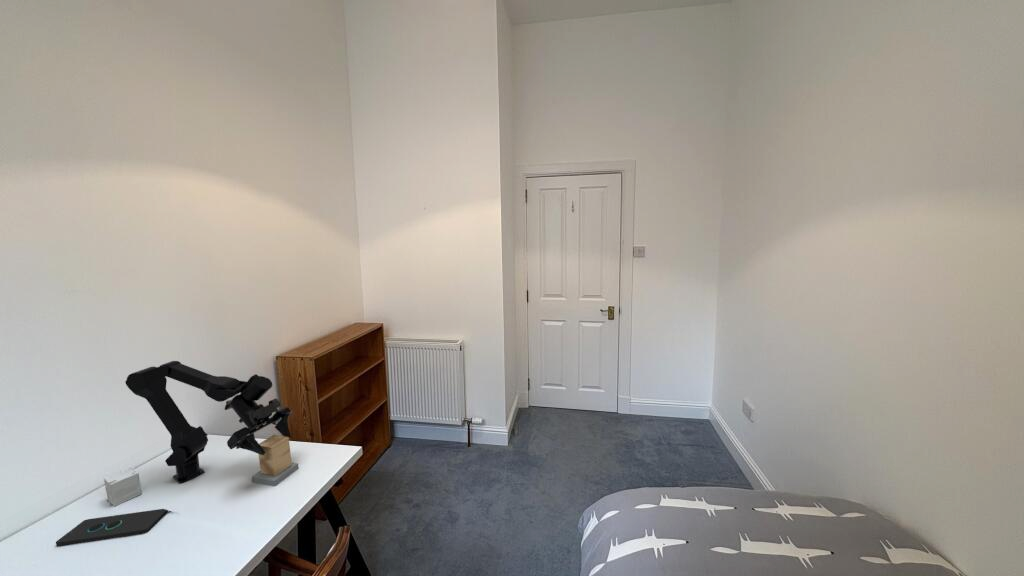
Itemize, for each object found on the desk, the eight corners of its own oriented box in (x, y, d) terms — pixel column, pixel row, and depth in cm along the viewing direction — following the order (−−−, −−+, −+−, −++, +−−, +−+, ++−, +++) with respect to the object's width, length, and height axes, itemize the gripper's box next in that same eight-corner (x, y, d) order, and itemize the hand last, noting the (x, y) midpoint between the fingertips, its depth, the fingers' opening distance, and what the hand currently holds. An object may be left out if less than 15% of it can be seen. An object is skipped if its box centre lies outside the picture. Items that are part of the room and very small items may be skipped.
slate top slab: (252, 482, 111) (251, 476, 111) (276, 465, 120) (276, 459, 120) (274, 486, 109) (274, 480, 109) (298, 468, 118) (298, 463, 118)
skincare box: (135, 488, 111) (131, 466, 110) (142, 494, 108) (138, 472, 108) (106, 500, 106) (103, 478, 105) (113, 507, 103) (109, 484, 102)
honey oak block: (260, 473, 113) (257, 444, 111) (277, 461, 118) (274, 434, 117) (275, 476, 111) (271, 447, 109) (291, 464, 117) (288, 437, 115)
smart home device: (85, 518, 97) (169, 507, 101) (86, 524, 97) (170, 512, 101) (53, 543, 89) (145, 529, 93) (54, 549, 89) (146, 535, 93)
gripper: (229, 408, 104) (262, 448, 102) (285, 384, 122) (313, 417, 120) (213, 429, 107) (244, 468, 105) (269, 403, 125) (297, 436, 123)
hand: (277, 446), depth 113 cm, fingers open, 9 cm apart
